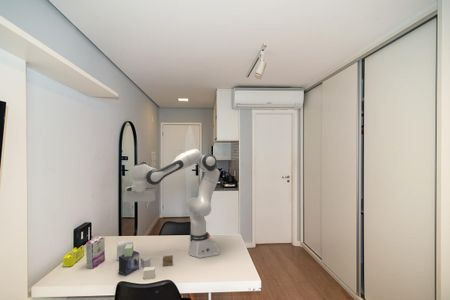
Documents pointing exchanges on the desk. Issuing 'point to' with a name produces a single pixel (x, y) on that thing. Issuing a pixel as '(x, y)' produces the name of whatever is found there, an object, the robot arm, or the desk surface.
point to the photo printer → (122, 247)
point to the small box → (128, 263)
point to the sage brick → (128, 250)
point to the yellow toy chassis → (73, 256)
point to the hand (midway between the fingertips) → (139, 208)
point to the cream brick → (149, 272)
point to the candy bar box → (95, 252)
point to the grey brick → (145, 261)
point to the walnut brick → (168, 260)
